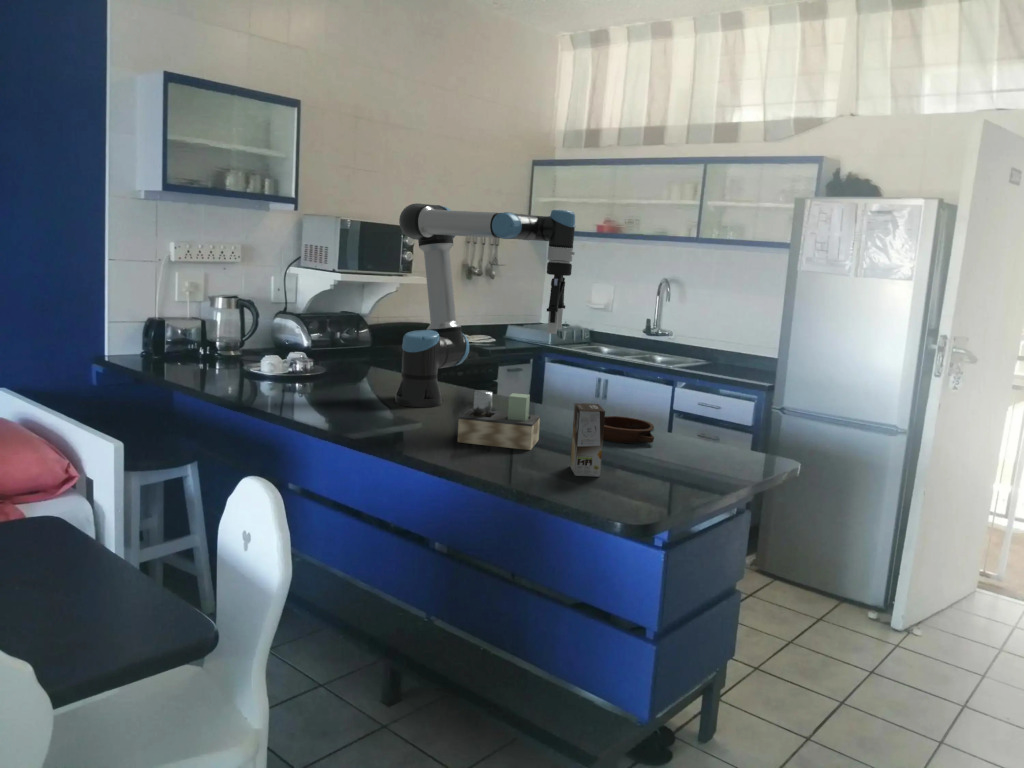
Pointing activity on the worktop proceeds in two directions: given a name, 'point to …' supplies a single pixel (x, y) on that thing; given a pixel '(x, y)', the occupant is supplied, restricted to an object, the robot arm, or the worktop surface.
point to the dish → (627, 430)
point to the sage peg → (518, 407)
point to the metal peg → (482, 403)
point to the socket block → (498, 430)
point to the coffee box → (587, 439)
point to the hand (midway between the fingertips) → (554, 331)
